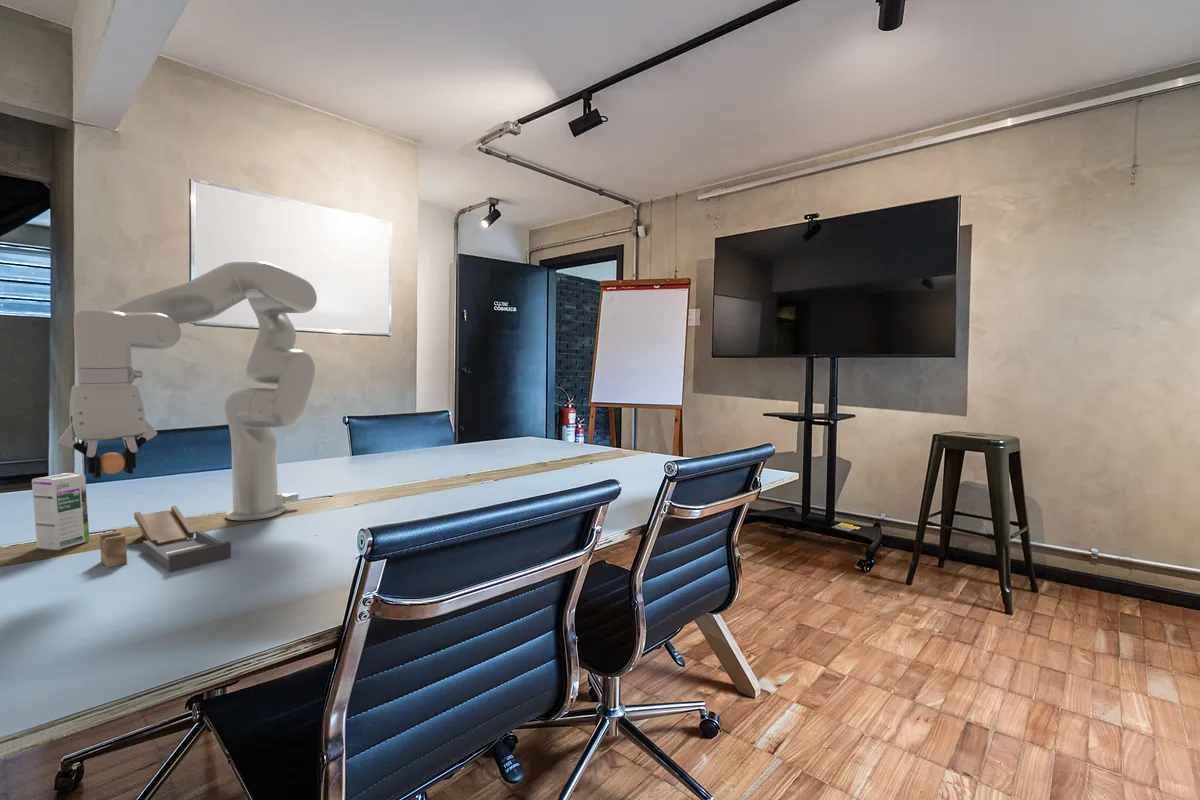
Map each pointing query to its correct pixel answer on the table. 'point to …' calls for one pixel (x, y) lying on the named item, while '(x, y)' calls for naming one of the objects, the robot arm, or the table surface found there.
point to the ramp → (164, 526)
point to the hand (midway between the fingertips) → (112, 473)
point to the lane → (188, 552)
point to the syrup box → (60, 511)
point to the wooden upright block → (113, 549)
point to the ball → (112, 463)
